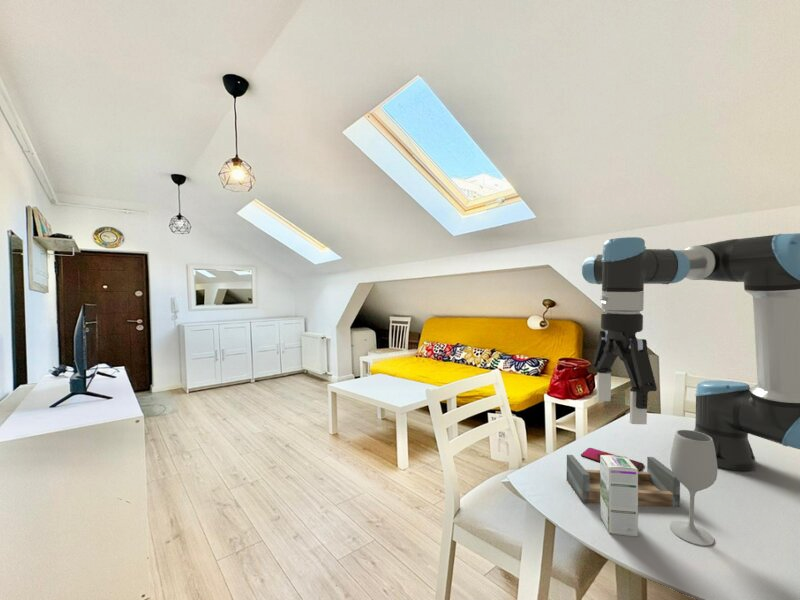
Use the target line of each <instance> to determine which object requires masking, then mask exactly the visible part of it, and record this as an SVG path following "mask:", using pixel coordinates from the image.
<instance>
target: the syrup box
mask: <svg viewBox="0 0 800 600" xmlns="http://www.w3.org/2000/svg"><path fill="white" fill-rule="evenodd" d="M616 455H617V454H614V455H601V456H600V463H599V468H600V504H599V517H600V518H601V521H602V522H603V524H604V526H605V527H606V530H607V532H608V533H609V534H613V535H620V536H627V537H628V536H629V537H638V535H639V533H638V532H639V530H638V529H639V526H638V525H639V505H638V469H637V468H636V467H635V466H634V465H633V464H632V462H631V461H630V460H631V459H630V458H628V457H627V456H623V455H617V456H616ZM629 459H630V460H629Z"/></svg>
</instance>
